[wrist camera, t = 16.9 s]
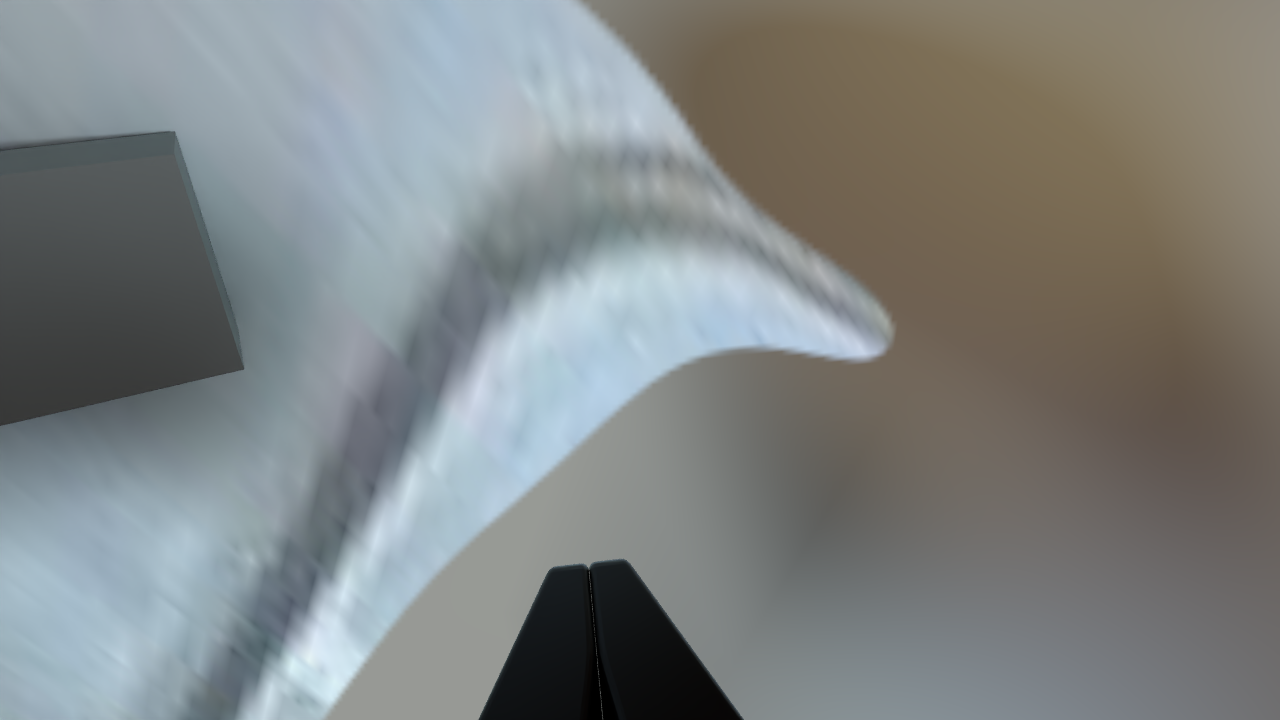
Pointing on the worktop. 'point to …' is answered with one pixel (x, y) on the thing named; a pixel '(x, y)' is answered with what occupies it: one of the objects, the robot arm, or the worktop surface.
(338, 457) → the worktop surface
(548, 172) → the worktop surface
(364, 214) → the worktop surface
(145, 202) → the domino
